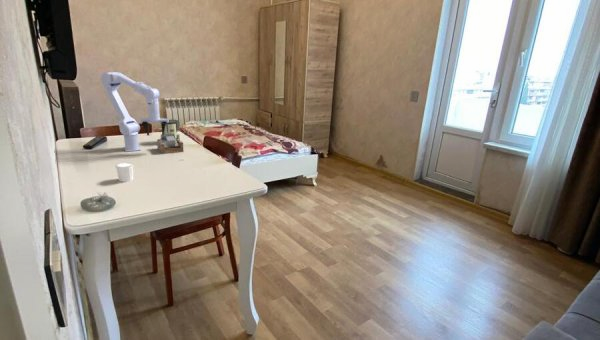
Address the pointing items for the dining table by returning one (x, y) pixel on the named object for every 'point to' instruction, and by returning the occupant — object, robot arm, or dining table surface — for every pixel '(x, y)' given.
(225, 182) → the dining table surface
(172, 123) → the coffee can
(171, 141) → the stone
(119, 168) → the white cup
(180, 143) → the frame
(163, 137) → the trapdoor
